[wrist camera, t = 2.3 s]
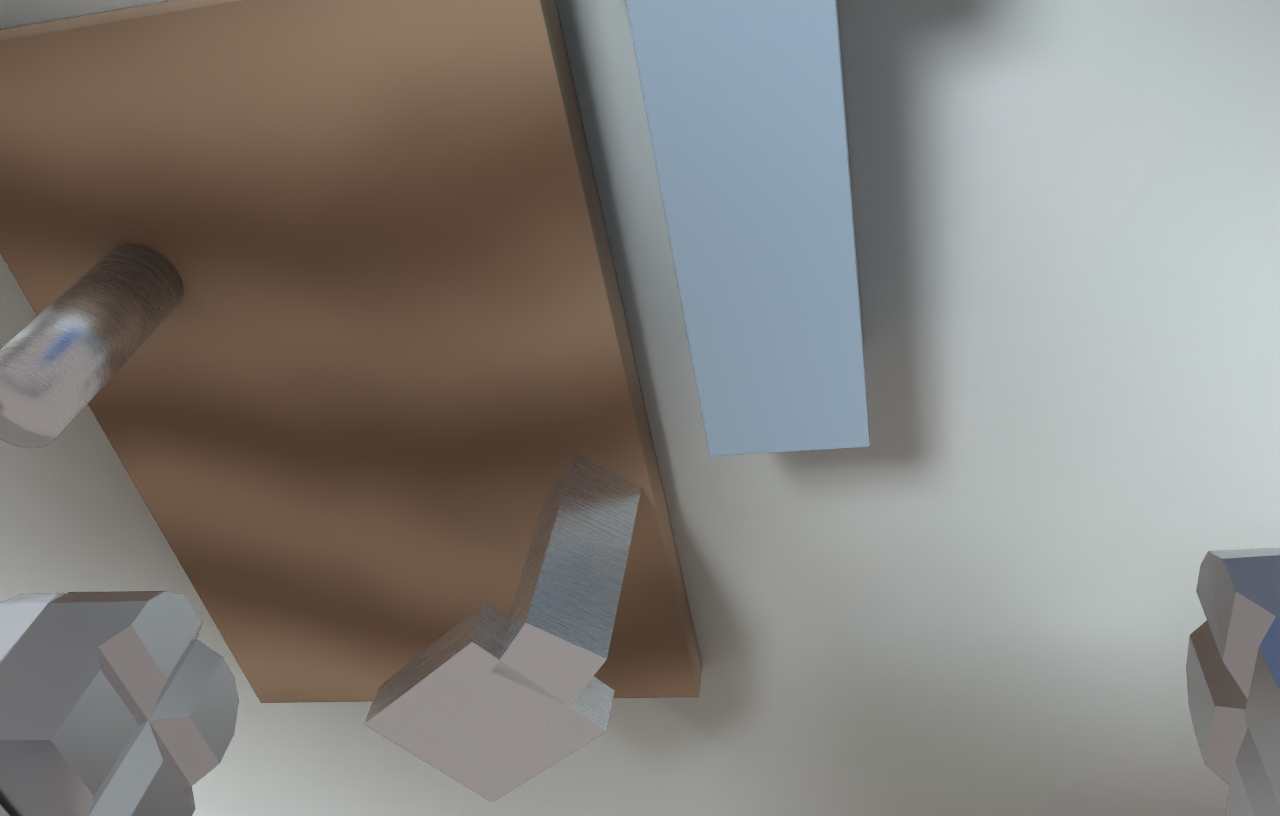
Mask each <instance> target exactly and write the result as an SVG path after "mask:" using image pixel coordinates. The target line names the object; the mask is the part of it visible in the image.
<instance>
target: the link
mask: <svg viewBox="0 0 1280 816" xmlns="http://www.w3.org/2000/svg"><path fill="white" fill-rule="evenodd" d="M626 5H627V10H628V16H629V21H630V26H631V32H632V37H633V43H634V48H635V54H636V59H637V64H638V70H639V75H640V81H641V86H642V92H643V97H644V102H645V108H646V113H647V119H648V124H649V130H650V135H651V140H652V146H653V151H654V157H655V162H656V168H657V173H658V178H659V184H660V189H661V195H662V200H663V206H664V211H665V216H666V222H667V227H668V233H669V238H670V244H671V249H672V254H673V260H674V265H675V271H676V276H677V282H678V287H679V292H680V298H681V303H682V309H683V314H684V320H685V325H686V330H687V336H688V341H689V347H690V352H691V358H692V363H693V368H694V374H695V379H696V385H697V390H698V396H699V401H700V406H701V412H702V417H703V423H704V428H705V434H706V439H707V444H708V450H709V455H710V456H724V455H740V454H757V453H773V452H789V451H806V450H822V449H838V448H855V447H870V445H869V429H868V413H867V397H866V381H865V365H864V349H863V335H862V322H861V309H860V296H859V283H858V269H857V256H856V243H855V230H854V217H853V204H852V191H851V178H850V164H849V151H848V138H847V125H846V112H845V99H844V86H843V72H842V59H841V46H840V33H839V20H838V7H837V0H626Z"/></svg>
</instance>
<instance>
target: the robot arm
mask: <svg viewBox="0 0 1280 816" xmlns="http://www.w3.org/2000/svg"><path fill="white" fill-rule="evenodd" d="M1196 592H1197V594H1198V597H1199V600H1200V602H1201V605H1202V608H1203V610H1204V613H1205V616H1206V618H1207V621H1206V622H1205V623H1203V624H1202V625H1201V626H1200V627H1199V628H1198V629H1196V630H1195V631H1194V632H1193V633H1192V634H1191V635H1190V637H1189V647H1188V656H1187V665H1186V672H1187V687H1188V702H1189V708H1190V713H1191V717H1192V722H1193V726H1194V731H1195V735H1196V738H1197V741H1198V744H1199V747H1200V750H1201V754H1202V757H1203V760H1204V763H1205V765H1206V766H1207V767H1208V768H1210V769H1211V770H1212V771H1213V772H1215V773H1216V774H1217V775H1218V776H1219V777H1221V778H1222V779H1223V780H1224V781H1225V782H1227V783H1228V784H1229V785H1230V790H1229V796H1228V801H1227V806H1226V812H1225V816H1280V548H1261V549H1239V550H1218V551H1208V552H1207V554H1206V556H1205V558H1204V560H1203V562H1202V563H1201V566H1200V572H1199V578H1198V584H1197V590H1196ZM201 625H202V620H201V619H200V617H199V616H198V614H197V613H196V611H195V610H194V608H193V607H192V605H191V603H190V602H189V600H188V599H187V597H186V596H185V595H183V594H178V593H172V592H167V591H133V592H69V593H61V594H20V595H18V596H15V597H13V598H11V599H9V600H7V601H5V602H2V603H0V816H192V815H193V813H194V811H195V804H194V798H193V792H192V785H194V784H195V783H196V782H197V781H199V780H200V779H201V778H202V777H204V776H205V775H206V774H207V773H208V772H210V771H211V770H212V769H213V768H215V767H216V766H217V765H218V764H219V763H220V761H221V759H222V757H223V755H224V753H225V751H226V749H227V747H228V745H229V743H230V741H231V739H232V737H233V735H234V731H235V724H236V717H237V710H238V704H239V699H238V694H237V690H236V685H235V680H234V676H233V674H232V672H231V671H230V669H229V667H228V665H227V663H226V662H225V660H224V658H223V657H222V656H221V655H219V654H218V653H216V652H215V651H213V650H212V649H210V648H209V647H207V646H206V645H204V644H203V643H201V642H200V641H199V640H197V638H198V635H199V631H200V628H201Z"/></svg>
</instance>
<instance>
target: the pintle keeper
mask: <svg viewBox="0 0 1280 816" xmlns="http://www.w3.org/2000/svg"><path fill="white" fill-rule="evenodd" d="M183 294H184V288H183V283H182V279H181V277H180V275H179V273H178V271H177V270H176V268H175V267H174V265H173V264H172V263H171V262H170V261H169V260H168V259H167V258H166V257H165V256H163V255H162V254H161V253H159V252H158V251H156V250H154V249H152V248H150V247H148V246H145V245H141V244H136V243H125V244H121V245H118V246H116V247H114V248H113V249H112V250H110V251H109V252H108V253H107V254H106V255H105V256H104V257H103V258H101V259H100V260H99V261H98V262H97V263H96V264H95V265H94V266H93V267H91V268H90V269H89V270H88V271H87V272H86V273H85V274H84V275H83V276H81V277H80V278H79V279H78V280H77V281H76V282H75V283H74V284H73V285H71V286H70V287H69V288H68V289H67V290H66V291H65V292H64V293H63V294H61V295H60V296H59V297H58V298H57V299H56V300H55V301H54V302H53V303H51V304H50V305H49V306H48V307H47V308H46V309H45V310H44V311H42V312H41V313H40V314H39V315H38V316H37V317H36V318H35V319H34V320H32V321H31V322H30V323H29V324H28V325H27V326H26V327H25V328H24V329H22V330H21V331H20V332H19V333H18V334H17V335H16V336H15V337H14V338H12V339H11V340H10V341H9V342H8V343H7V344H6V345H5V346H4V347H2V348H1V349H0V439H1V440H3V441H5V442H8V443H10V444H13V445H16V446H20V447H26V448H38V447H43V446H46V445H48V444H50V443H51V442H53V441H54V440H55V439H56V437H57V436H58V435H59V434H60V433H61V432H62V431H63V430H64V429H65V428H66V427H67V426H68V425H69V423H70V422H71V421H72V420H73V419H74V418H75V417H76V416H77V415H78V414H79V413H80V412H81V410H82V409H83V408H84V407H85V406H86V405H87V404H88V403H89V402H90V401H91V400H92V399H93V397H94V396H95V395H96V394H97V393H98V392H99V391H100V390H101V389H102V388H103V387H104V386H105V385H106V383H107V382H108V381H109V380H110V379H111V378H112V377H113V376H114V375H115V374H116V373H117V372H118V370H119V369H120V368H121V367H122V366H123V365H124V364H125V363H126V362H127V361H128V360H129V359H130V358H131V356H132V355H133V354H134V353H135V352H136V351H137V350H138V349H139V348H140V347H141V346H142V345H143V343H144V342H145V341H146V340H147V339H148V338H149V337H150V336H151V335H152V334H153V333H154V332H155V330H156V329H157V328H158V327H159V326H160V325H161V324H162V323H163V322H164V321H165V320H166V319H167V318H168V316H169V315H170V314H171V313H172V312H173V311H174V310H175V309H176V308H177V307H178V306H179V304H180V303H181V301H182V298H183ZM641 488H642V487H640V486H638V485H636V484H634V483H632V482H630V481H628V480H626V479H624V478H622V477H620V476H618V475H616V474H614V473H612V472H610V471H608V470H605V469H603V468H601V467H599V466H597V465H595V464H593V463H591V462H589V461H587V460H585V459H583V458H581V457H579V456H577V455H575V454H574V456H573V457H572V459H571V461H570V462H569V464H568V465H567V467H566V468H565V470H564V471H563V473H562V474H561V476H560V478H559V479H558V481H557V482H556V484H555V485H554V487H553V488H552V490H551V491H550V493H549V495H548V496H547V498H546V499H545V501H544V502H543V505H542V509H541V512H540V515H539V518H538V522H537V525H536V528H535V531H534V534H533V538H532V541H531V544H530V547H529V551H528V554H527V557H526V560H525V564H524V567H523V570H522V573H521V577H520V580H519V583H518V586H517V589H516V593H515V596H514V599H513V602H512V606H511V609H510V612H509V615H508V618H507V617H506V616H504V615H503V614H502V613H500V612H499V611H497V610H496V609H494V608H493V607H491V606H490V605H488V604H487V603H484V604H483V605H482V606H481V607H479V608H478V609H477V610H475V611H474V612H473V613H472V614H470V615H469V616H468V617H467V618H465V619H464V620H463V621H461V622H460V623H459V624H458V625H456V626H455V627H454V628H453V629H451V630H450V631H449V632H447V633H446V634H445V635H444V636H442V637H441V638H440V639H439V640H437V641H436V642H435V643H433V644H432V645H431V646H430V647H428V648H427V649H426V650H425V651H423V652H422V653H421V654H419V655H418V656H417V657H416V658H414V659H413V660H412V661H411V662H409V663H408V664H407V665H406V666H404V667H403V668H402V669H400V670H399V671H398V672H397V673H395V674H394V675H393V676H392V677H390V678H389V679H388V680H386V681H385V682H384V683H383V684H381V685H380V687H379V689H378V692H377V694H376V696H375V699H374V701H373V704H372V706H371V709H370V711H369V714H368V716H367V718H366V721H365V723H364V725H366V726H368V727H369V728H371V729H372V730H374V731H376V732H377V733H379V734H381V735H382V736H384V737H386V738H387V739H389V740H390V741H392V742H394V743H395V744H397V745H399V746H400V747H402V748H404V749H405V750H407V751H409V752H410V753H412V754H413V755H415V756H417V757H418V758H420V759H422V760H423V761H425V762H427V763H428V764H430V765H432V766H433V767H435V768H436V769H438V770H440V771H441V772H443V773H445V774H446V775H448V776H450V777H451V778H453V779H455V780H456V781H458V782H459V783H461V784H463V785H464V786H466V787H468V788H469V789H471V790H473V791H474V792H476V793H478V794H479V795H481V796H482V797H484V798H486V799H487V800H489V801H491V802H493V801H495V800H497V799H498V798H500V797H501V796H503V795H505V794H506V793H508V792H509V791H511V790H513V789H514V788H516V787H518V786H519V785H521V784H522V783H524V782H526V781H527V780H529V779H530V778H532V777H534V776H535V775H537V774H538V773H540V772H542V771H543V770H545V769H547V768H548V767H550V766H551V765H553V764H555V763H556V762H558V761H559V760H561V759H563V758H564V757H566V756H567V755H569V754H571V753H572V752H574V751H576V750H577V749H579V748H580V747H582V746H584V745H585V744H587V743H588V742H590V741H592V740H593V739H595V738H596V737H598V736H600V735H601V734H603V733H605V732H606V731H607V727H608V722H609V717H610V712H611V706H612V701H613V696H614V690H613V689H612V688H610V687H609V686H607V685H606V684H604V683H603V682H601V681H600V680H598V679H597V678H595V677H594V675H595V673H596V672H597V671H598V670H599V669H600V667H601V666H602V665H603V664H604V662H605V661H606V660H607V657H608V652H609V647H610V642H611V637H612V632H613V627H614V622H615V617H616V612H617V607H618V602H619V597H620V592H621V587H622V582H623V577H624V572H625V567H626V562H627V558H628V553H629V548H630V543H631V538H632V533H633V528H634V523H635V518H636V513H637V508H638V503H639V498H640V493H641Z"/></svg>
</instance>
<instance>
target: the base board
mask: <svg viewBox="0 0 1280 816" xmlns="http://www.w3.org/2000/svg"><path fill="white" fill-rule="evenodd" d="M125 243H136V244H141V245H145V246H148V247H150V248H152V249H154V250H156V251H158V252H159V253H161V254H162V255H163V256H165V257H166V258H167V259H168V260H169V261H170V262H171V263H172V264H173V265H174V267H175V268H176V270H177V271H178V273H179V275H180V277H181V279H182V283H183V288H184V294H183V298H182V301H181V303H180V304H179V306H178V307H177V308H176V309H175V310H174V311H173V312H172V313H171V314H170V315H169V316H168V318H167V319H166V320H165V321H164V322H163V323H162V324H161V325H160V326H159V327H158V328H157V329H156V330H155V332H154V333H153V334H152V335H151V336H150V337H149V338H148V339H147V340H146V341H145V342H144V343H143V345H142V346H141V347H140V348H139V349H138V350H137V351H136V352H135V353H134V354H133V355H132V356H131V358H130V359H129V360H128V361H127V362H126V363H125V364H124V365H123V366H122V367H121V368H120V369H119V370H118V372H117V373H116V374H115V375H114V376H113V377H112V378H111V379H110V380H109V381H108V382H107V383H106V385H105V386H104V387H103V388H102V389H101V390H100V391H99V392H98V393H97V394H96V395H95V396H94V397H93V399H92V400H91V401H90V402H89V403H88V405H89V406H90V408H91V410H92V412H93V413H94V415H95V417H96V419H97V420H98V422H99V424H100V425H101V427H102V429H103V431H104V432H105V434H106V436H107V438H108V439H109V441H110V443H111V444H112V446H113V448H114V450H115V451H116V453H117V455H118V457H119V458H120V460H121V462H122V463H123V465H124V467H125V469H126V470H127V472H128V474H129V476H130V477H131V479H132V481H133V482H134V484H135V486H136V488H137V489H138V491H139V493H140V495H141V496H142V498H143V500H144V501H145V503H146V505H147V507H148V508H149V510H150V512H151V514H152V515H153V517H154V519H155V520H156V522H157V524H158V526H159V527H160V529H161V531H162V533H163V534H164V536H165V538H166V539H167V541H168V543H169V545H170V546H171V548H172V550H173V552H174V553H175V555H176V557H177V558H178V560H179V562H180V564H181V565H182V567H183V569H184V571H185V572H186V574H187V576H188V578H189V579H190V581H191V583H192V584H193V586H194V588H195V590H196V591H197V593H198V595H199V597H200V598H201V600H202V602H203V603H204V605H205V607H206V609H207V610H208V612H209V614H210V616H211V617H212V619H213V621H214V622H215V624H216V626H217V628H218V629H219V631H220V633H221V635H222V636H223V638H224V640H225V641H226V643H227V645H228V647H229V648H230V650H231V652H232V654H233V655H234V657H235V659H236V660H237V662H238V664H239V666H240V667H241V669H242V671H243V673H244V674H245V676H246V678H247V679H248V681H249V683H250V685H251V686H252V688H253V690H254V692H255V693H256V695H257V697H258V698H259V700H260V702H261V703H284V702H358V701H374V699H375V696H376V694H377V692H378V689H379V687H380V685H381V684H383V683H384V682H385V681H386V680H388V679H389V678H390V677H392V676H393V675H394V674H395V673H397V672H398V671H399V670H400V669H402V668H403V667H404V666H406V665H407V664H408V663H409V662H411V661H412V660H413V659H414V658H416V657H417V656H418V655H419V654H421V653H422V652H423V651H425V650H426V649H427V648H428V647H430V646H431V645H432V644H433V643H435V642H436V641H437V640H439V639H440V638H441V637H442V636H444V635H445V634H446V633H447V632H449V631H450V630H451V629H453V628H454V627H455V626H456V625H458V624H459V623H460V622H461V621H463V620H464V619H465V618H467V617H468V616H469V615H470V614H472V613H473V612H474V611H475V610H477V609H478V608H479V607H481V606H482V605H483V604H484V603H487V604H488V605H490V606H491V607H493V608H494V609H496V610H497V611H499V612H500V613H502V614H503V615H504V616H506V617H507V618H508V615H509V612H510V609H511V606H512V602H513V599H514V596H515V593H516V589H517V586H518V583H519V580H520V577H521V573H522V570H523V567H524V564H525V560H526V557H527V554H528V551H529V547H530V544H531V541H532V538H533V534H534V531H535V528H536V525H537V522H538V518H539V515H540V512H541V509H542V505H543V502H544V501H545V499H546V498H547V496H548V495H549V493H550V491H551V490H552V488H553V487H554V485H555V484H556V482H557V481H558V479H559V478H560V476H561V474H562V473H563V471H564V470H565V468H566V467H567V465H568V464H569V462H570V461H571V459H572V457H573V456H574V454H575V455H577V456H579V457H581V458H583V459H585V460H587V461H589V462H591V463H593V464H595V465H597V466H599V467H601V468H603V469H605V470H608V471H610V472H612V473H614V474H616V475H618V476H620V477H622V478H624V479H626V480H628V481H630V482H632V483H634V484H636V485H638V486H640V487H642V488H641V493H640V498H639V503H638V508H637V513H636V518H635V523H634V528H633V533H632V538H631V543H630V548H629V553H628V558H627V562H626V567H625V572H624V577H623V582H622V587H621V592H620V597H619V602H618V607H617V612H616V617H615V622H614V627H613V632H612V637H611V642H610V647H609V652H608V657H607V660H606V661H605V662H604V664H603V665H602V666H601V667H600V669H599V670H598V671H597V672H596V673H595V675H594V677H595V678H597V679H598V680H600V681H601V682H603V683H604V684H606V685H607V686H609V687H610V688H612V689H613V690H614V696H613V698H654V697H699V690H700V681H701V672H702V664H701V659H700V655H699V650H698V646H697V641H696V637H695V632H694V628H693V623H692V619H691V614H690V609H689V605H688V600H687V596H686V591H685V587H684V582H683V578H682V573H681V569H680V564H679V560H678V555H677V550H676V546H675V541H674V537H673V532H672V528H671V523H670V519H669V514H668V510H667V505H666V500H665V496H664V491H663V487H662V482H661V478H660V473H659V469H658V464H657V460H656V455H655V451H654V446H653V441H652V437H651V432H650V428H649V423H648V419H647V414H646V410H645V405H644V401H643V396H642V391H641V387H640V382H639V378H638V373H637V369H636V364H635V360H634V355H633V351H632V346H631V342H630V337H629V332H628V328H627V323H626V319H625V314H624V310H623V305H622V301H621V296H620V292H619V287H618V282H617V278H616V273H615V269H614V264H613V260H612V255H611V251H610V246H609V242H608V237H607V233H606V228H605V223H604V219H603V214H602V210H601V205H600V201H599V196H598V192H597V187H596V183H595V178H594V173H593V169H592V164H591V160H590V155H589V151H588V146H587V142H586V137H585V133H584V128H583V124H582V119H581V114H580V110H579V105H578V101H577V96H576V92H575V87H574V83H573V78H572V74H571V69H570V64H569V60H568V55H567V51H566V46H565V42H564V37H563V33H562V28H561V24H560V19H559V15H558V10H557V5H556V1H555V0H171V1H165V2H159V3H154V4H148V5H142V6H136V7H130V8H124V9H118V10H112V11H106V12H101V13H95V14H89V15H83V16H77V17H71V18H65V19H59V20H53V21H48V22H42V23H36V24H30V25H24V26H18V27H12V28H6V29H1V30H0V253H1V254H2V256H3V258H4V260H5V261H6V263H7V265H8V266H9V268H10V270H11V272H12V273H13V275H14V277H15V279H16V280H17V282H18V284H19V285H20V287H21V289H22V291H23V292H24V294H25V296H26V298H27V299H28V301H29V303H30V304H31V306H32V308H33V310H34V311H35V313H36V315H37V316H38V315H39V314H40V313H41V312H42V311H44V310H45V309H46V308H47V307H48V306H49V305H50V304H51V303H53V302H54V301H55V300H56V299H57V298H58V297H59V296H60V295H61V294H63V293H64V292H65V291H66V290H67V289H68V288H69V287H70V286H71V285H73V284H74V283H75V282H76V281H77V280H78V279H79V278H80V277H81V276H83V275H84V274H85V273H86V272H87V271H88V270H89V269H90V268H91V267H93V266H94V265H95V264H96V263H97V262H98V261H99V260H100V259H101V258H103V257H104V256H105V255H106V254H107V253H108V252H109V251H110V250H112V249H113V248H114V247H116V246H118V245H121V244H125Z"/></svg>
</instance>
